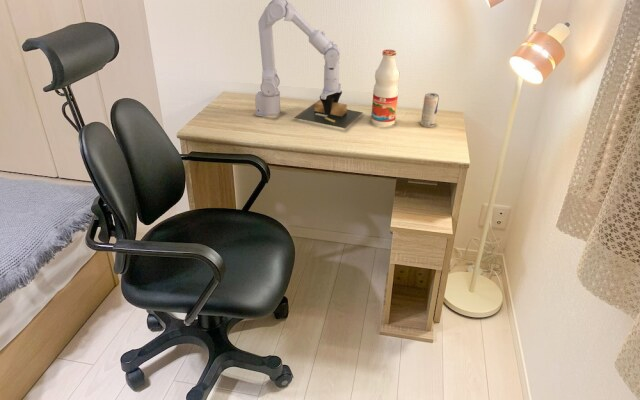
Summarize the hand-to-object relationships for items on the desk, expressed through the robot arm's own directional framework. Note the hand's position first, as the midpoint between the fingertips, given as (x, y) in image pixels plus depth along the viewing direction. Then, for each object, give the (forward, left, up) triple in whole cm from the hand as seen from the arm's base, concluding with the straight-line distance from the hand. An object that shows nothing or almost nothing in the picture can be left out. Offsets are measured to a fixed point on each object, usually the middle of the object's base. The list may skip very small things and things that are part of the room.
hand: (330, 111), depth 191 cm
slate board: (0, -1, -2) cm, 3 cm away
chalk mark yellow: (+2, -6, -1) cm, 6 cm away
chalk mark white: (-3, -3, -1) cm, 4 cm away
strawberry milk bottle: (+21, +4, -3) cm, 21 cm away
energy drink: (+37, +11, -3) cm, 39 cm away
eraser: (0, 0, -1) cm, 1 cm away
